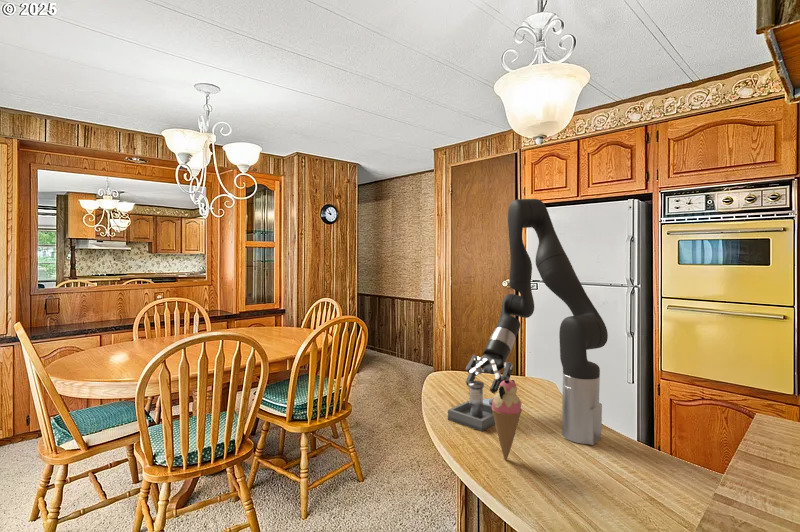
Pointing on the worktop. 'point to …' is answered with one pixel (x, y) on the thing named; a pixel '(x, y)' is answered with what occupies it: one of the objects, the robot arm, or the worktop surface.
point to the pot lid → (488, 401)
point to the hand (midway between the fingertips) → (479, 388)
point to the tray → (462, 417)
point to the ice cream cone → (506, 414)
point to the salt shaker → (476, 398)
